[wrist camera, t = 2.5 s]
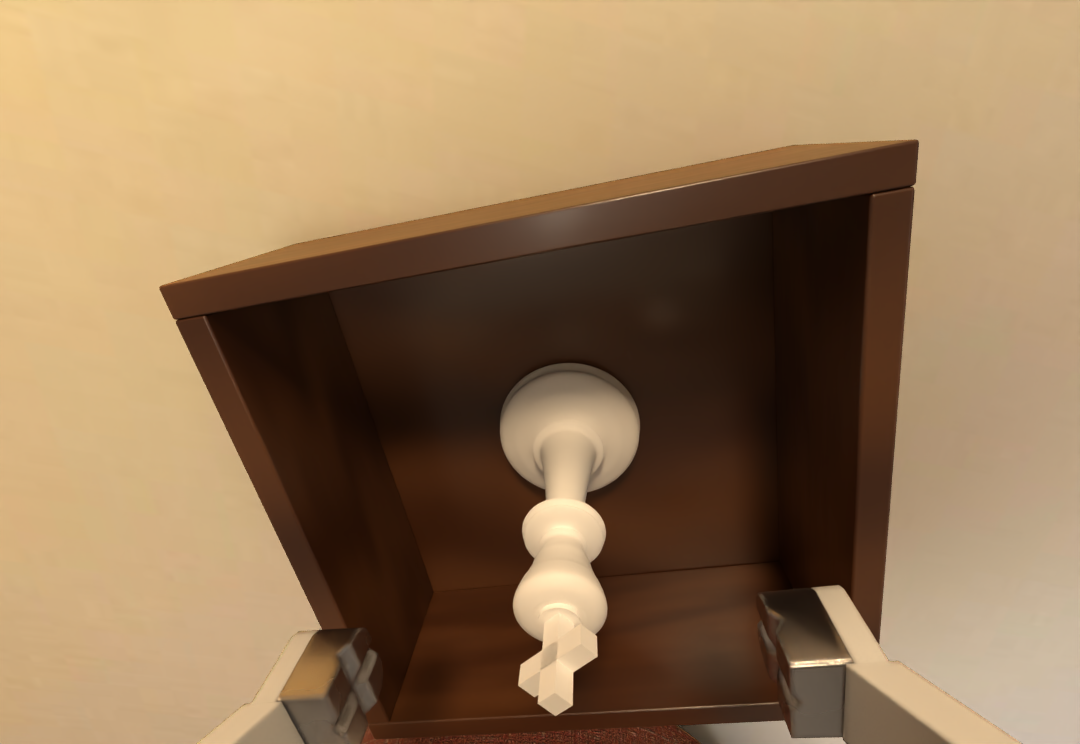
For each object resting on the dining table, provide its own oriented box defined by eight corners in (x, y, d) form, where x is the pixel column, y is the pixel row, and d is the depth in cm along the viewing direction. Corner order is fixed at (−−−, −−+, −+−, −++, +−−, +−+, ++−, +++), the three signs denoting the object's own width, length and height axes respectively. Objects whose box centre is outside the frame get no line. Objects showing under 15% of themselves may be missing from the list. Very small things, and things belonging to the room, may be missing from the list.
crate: (294, 244, 17) (156, 286, 11) (794, 144, 15) (920, 139, 9) (424, 599, 23) (374, 740, 17) (796, 567, 20) (875, 717, 15)
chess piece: (472, 425, 18) (362, 693, 9) (568, 333, 17) (550, 547, 8) (569, 507, 20) (558, 820, 10) (669, 427, 18) (760, 716, 9)
